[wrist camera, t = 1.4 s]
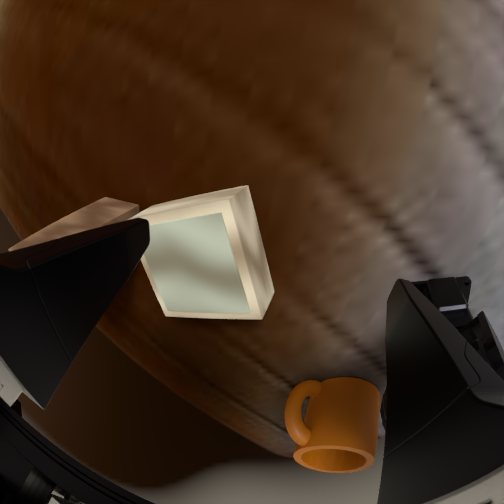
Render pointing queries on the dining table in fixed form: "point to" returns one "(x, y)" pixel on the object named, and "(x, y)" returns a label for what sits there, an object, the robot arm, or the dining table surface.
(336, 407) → the mug
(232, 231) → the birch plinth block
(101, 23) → the dining table surface
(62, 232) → the tan wooden block
